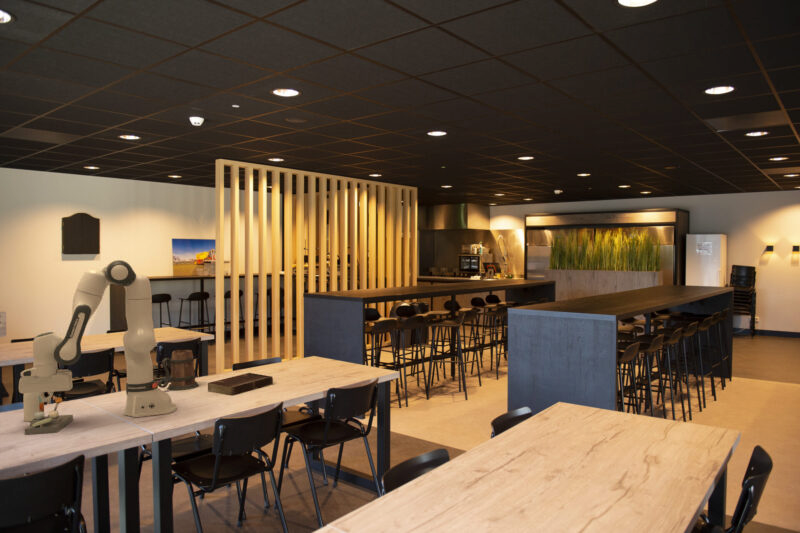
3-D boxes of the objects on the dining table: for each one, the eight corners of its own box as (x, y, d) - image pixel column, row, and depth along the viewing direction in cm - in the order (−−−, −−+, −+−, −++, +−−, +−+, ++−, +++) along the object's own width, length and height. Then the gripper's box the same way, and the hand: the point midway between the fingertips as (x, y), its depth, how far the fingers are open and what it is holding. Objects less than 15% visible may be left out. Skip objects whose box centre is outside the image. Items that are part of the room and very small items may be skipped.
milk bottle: (34, 422, 250) (32, 377, 250) (19, 421, 252) (18, 376, 251) (48, 417, 258) (47, 373, 257) (34, 416, 259) (32, 373, 259)
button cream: (59, 416, 242) (59, 410, 242) (56, 418, 239) (56, 412, 239) (51, 416, 242) (50, 410, 242) (47, 418, 238) (47, 412, 238)
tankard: (186, 382, 325) (185, 347, 324) (205, 385, 316) (204, 349, 315) (149, 391, 305) (148, 354, 304) (169, 394, 296) (168, 356, 295)
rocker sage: (52, 419, 238) (51, 417, 238) (49, 421, 234) (48, 419, 234) (36, 424, 236) (35, 422, 236) (32, 427, 233) (32, 424, 233)
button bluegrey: (45, 417, 241) (44, 411, 241) (41, 419, 238) (41, 413, 238) (36, 417, 241) (36, 411, 240) (33, 419, 237) (33, 413, 237)
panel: (73, 420, 252) (72, 410, 252) (56, 432, 235) (56, 421, 235) (43, 422, 250) (43, 412, 250) (24, 434, 232) (24, 423, 232)
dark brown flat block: (231, 396, 291) (231, 386, 291) (207, 392, 301) (207, 382, 301) (272, 384, 316) (272, 375, 316) (249, 381, 326) (249, 372, 326)
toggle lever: (58, 412, 248) (64, 397, 248) (56, 413, 245) (61, 399, 246) (52, 410, 247) (58, 395, 248) (49, 412, 245) (55, 397, 245)
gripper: (74, 367, 250) (75, 398, 251) (23, 370, 246) (24, 401, 247) (69, 370, 244) (70, 402, 244) (16, 373, 240) (17, 405, 241)
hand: (46, 402), depth 246 cm, fingers closed
